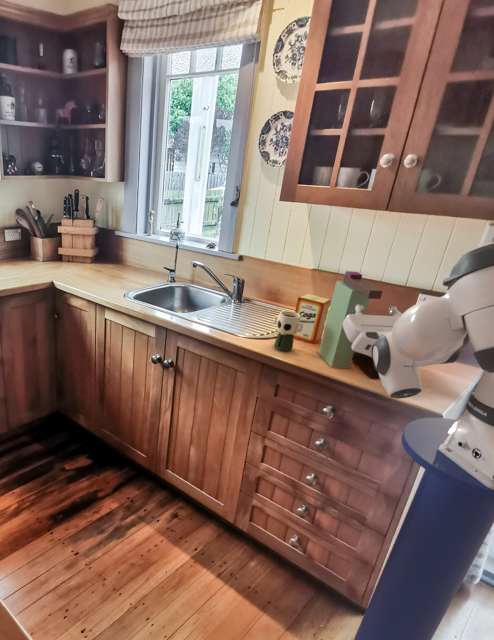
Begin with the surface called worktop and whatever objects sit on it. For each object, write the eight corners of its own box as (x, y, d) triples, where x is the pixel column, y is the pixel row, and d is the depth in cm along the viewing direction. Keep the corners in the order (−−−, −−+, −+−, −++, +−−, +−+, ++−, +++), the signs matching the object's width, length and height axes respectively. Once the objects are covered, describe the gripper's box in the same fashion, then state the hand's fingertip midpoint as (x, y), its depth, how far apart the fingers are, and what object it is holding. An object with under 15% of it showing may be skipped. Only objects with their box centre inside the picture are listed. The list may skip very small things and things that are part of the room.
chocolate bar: (380, 299, 134) (384, 287, 133) (367, 298, 134) (371, 286, 133) (354, 282, 151) (357, 271, 149) (342, 282, 151) (345, 271, 149)
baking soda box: (320, 339, 176) (331, 298, 169) (314, 343, 171) (324, 302, 164) (296, 332, 181) (305, 292, 174) (289, 336, 177) (298, 296, 170)
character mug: (263, 346, 167) (270, 311, 162) (275, 341, 172) (282, 308, 166) (290, 356, 160) (298, 320, 154) (301, 351, 164) (310, 316, 158)
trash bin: (410, 380, 147) (419, 355, 143) (370, 378, 147) (378, 353, 143) (377, 352, 167) (384, 330, 163) (342, 350, 167) (348, 328, 163)
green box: (349, 368, 153) (371, 291, 142) (331, 367, 153) (352, 290, 142) (335, 353, 164) (355, 281, 152) (318, 352, 164) (336, 280, 152)
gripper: (433, 339, 123) (417, 301, 131) (356, 335, 123) (345, 297, 131) (420, 353, 128) (405, 315, 136) (346, 350, 128) (335, 312, 136)
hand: (375, 306), depth 133 cm, fingers open, 8 cm apart
